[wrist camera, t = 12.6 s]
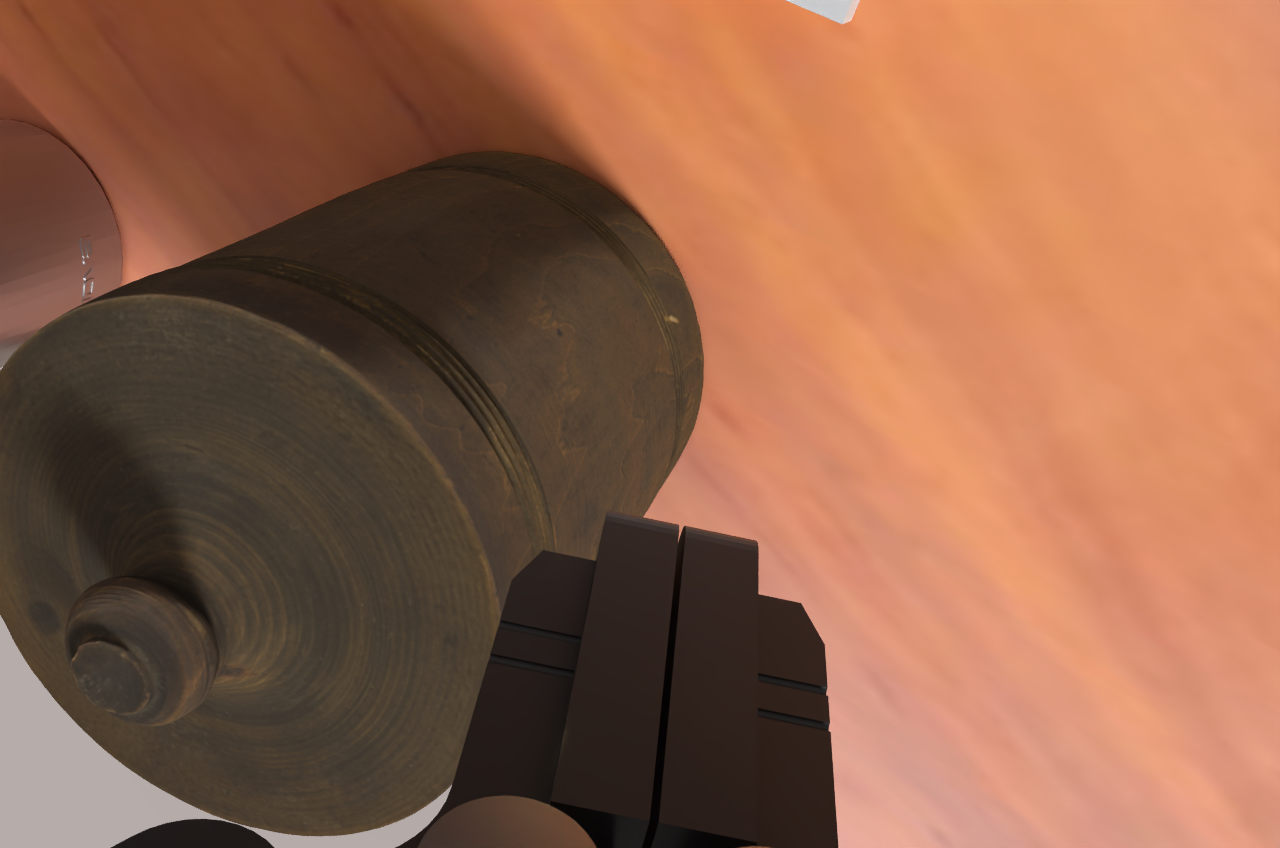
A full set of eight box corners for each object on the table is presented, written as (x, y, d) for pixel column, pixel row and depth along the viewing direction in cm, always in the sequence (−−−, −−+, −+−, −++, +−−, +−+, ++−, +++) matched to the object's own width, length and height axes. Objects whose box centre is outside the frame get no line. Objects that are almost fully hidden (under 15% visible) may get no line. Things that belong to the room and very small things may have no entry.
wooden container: (289, 405, 47) (-216, 728, 28) (414, 72, 40) (-138, 187, 21) (600, 594, 46) (306, 1066, 27) (781, 285, 40) (563, 614, 20)
